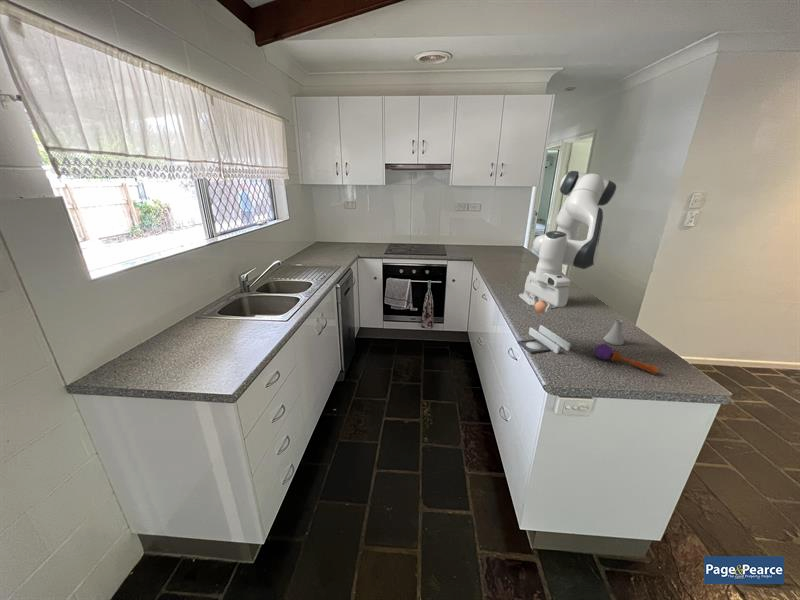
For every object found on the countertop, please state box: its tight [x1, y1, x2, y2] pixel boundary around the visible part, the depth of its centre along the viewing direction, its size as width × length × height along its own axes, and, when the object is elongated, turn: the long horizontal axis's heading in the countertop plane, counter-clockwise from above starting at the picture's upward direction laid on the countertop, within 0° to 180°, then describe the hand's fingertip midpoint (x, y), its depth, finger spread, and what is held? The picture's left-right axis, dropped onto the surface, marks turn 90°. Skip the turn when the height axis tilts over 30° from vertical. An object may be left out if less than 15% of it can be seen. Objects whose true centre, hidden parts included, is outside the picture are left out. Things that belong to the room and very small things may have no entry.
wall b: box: [528, 327, 561, 354], centre depth 136 cm, size 18×1×3 cm, turn 15°
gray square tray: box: [517, 338, 552, 354], centre depth 133 cm, size 9×9×1 cm
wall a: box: [538, 324, 572, 352], centre depth 139 cm, size 18×1×3 cm, turn 15°
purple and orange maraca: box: [594, 343, 659, 376], centre depth 121 cm, size 6×6×20 cm
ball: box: [534, 301, 548, 314], centre depth 127 cm, size 5×5×5 cm
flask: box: [602, 318, 625, 346], centre depth 137 cm, size 7×7×10 cm
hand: (541, 309), depth 127 cm, fingers closed on ball, 5 cm apart
